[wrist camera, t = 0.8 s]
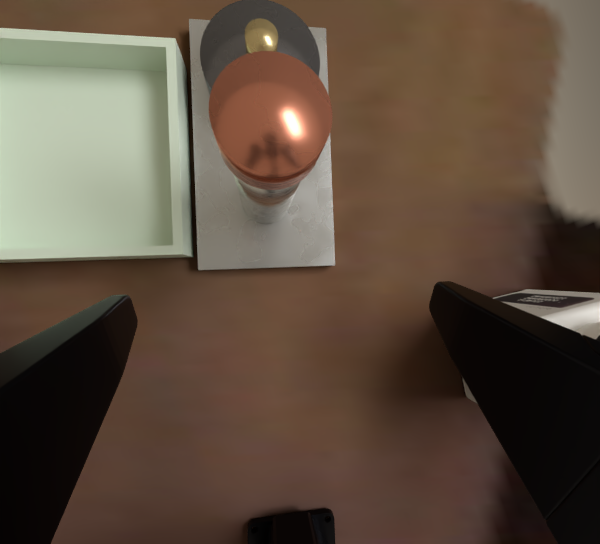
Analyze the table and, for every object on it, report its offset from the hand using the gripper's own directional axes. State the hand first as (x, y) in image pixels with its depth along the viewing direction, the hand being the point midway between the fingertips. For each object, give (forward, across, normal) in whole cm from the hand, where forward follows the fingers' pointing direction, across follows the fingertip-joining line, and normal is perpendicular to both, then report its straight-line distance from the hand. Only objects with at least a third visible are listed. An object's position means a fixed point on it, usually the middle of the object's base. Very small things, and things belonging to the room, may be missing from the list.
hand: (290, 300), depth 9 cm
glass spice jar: (+15, +1, +1) cm, 15 cm away
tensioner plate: (+18, +1, -2) cm, 18 cm away
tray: (+17, +13, -1) cm, 21 cm away
